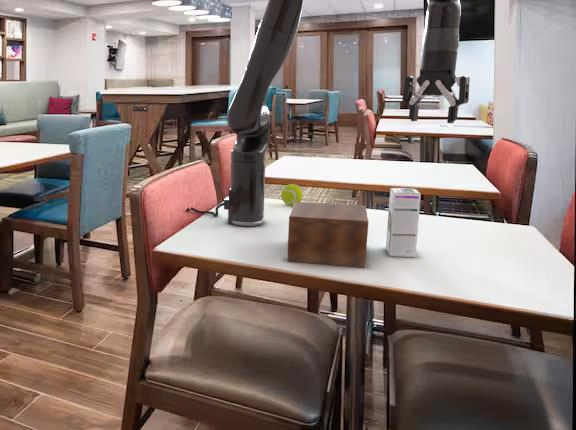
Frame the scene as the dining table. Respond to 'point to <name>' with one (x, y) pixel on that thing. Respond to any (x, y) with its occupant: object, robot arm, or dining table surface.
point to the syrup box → (403, 222)
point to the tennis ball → (291, 194)
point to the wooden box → (328, 234)
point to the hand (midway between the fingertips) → (431, 122)
